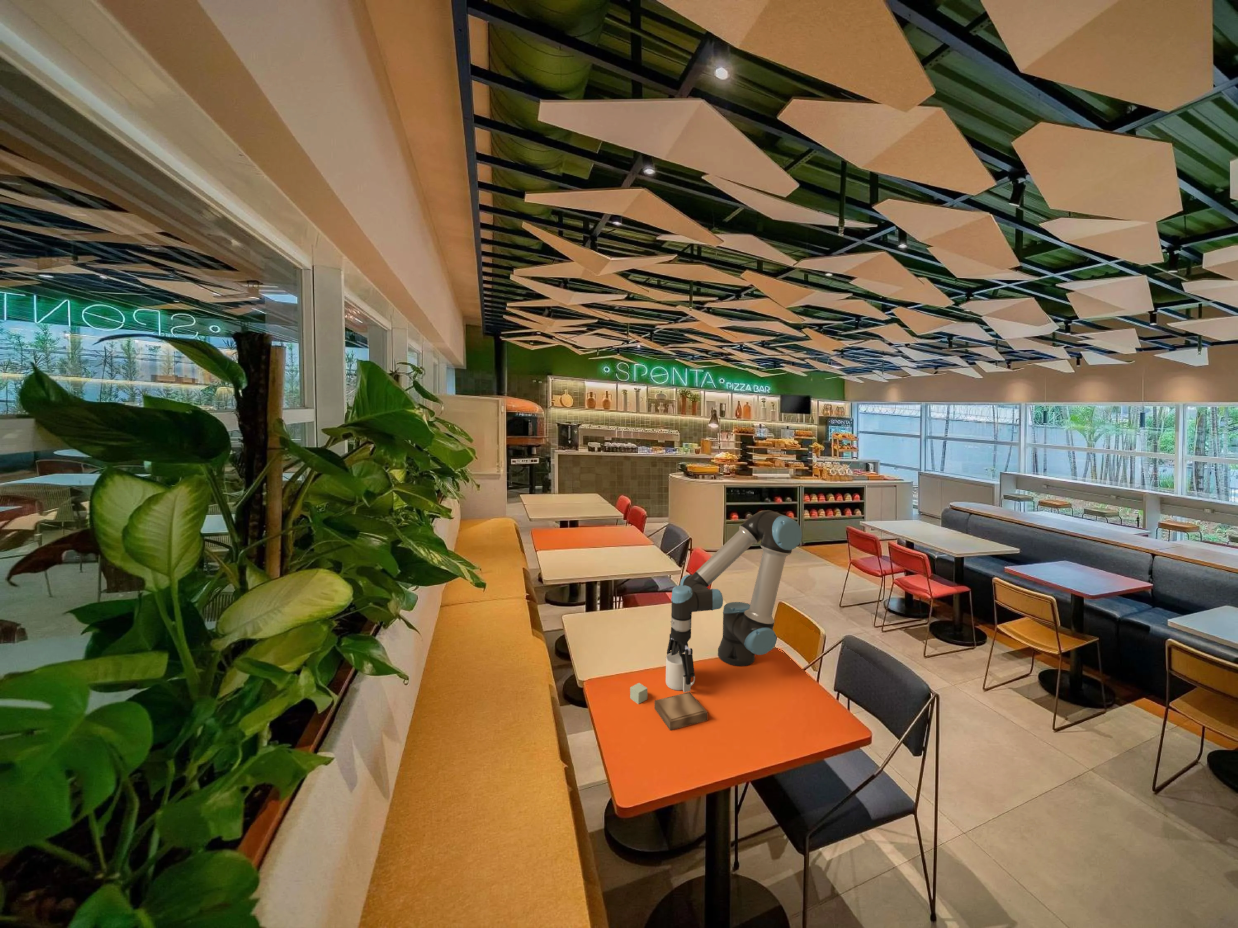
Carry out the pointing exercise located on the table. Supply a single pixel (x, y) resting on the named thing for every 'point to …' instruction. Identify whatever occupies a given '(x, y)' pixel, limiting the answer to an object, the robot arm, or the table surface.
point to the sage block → (638, 693)
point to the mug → (675, 672)
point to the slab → (680, 710)
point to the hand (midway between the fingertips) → (679, 682)
